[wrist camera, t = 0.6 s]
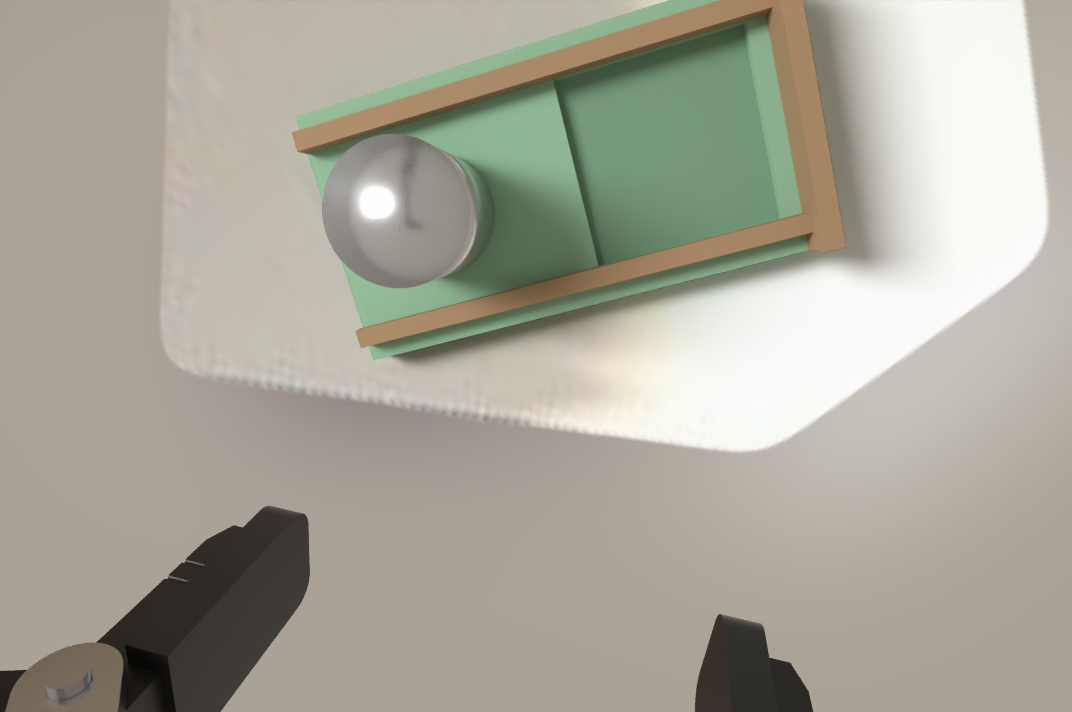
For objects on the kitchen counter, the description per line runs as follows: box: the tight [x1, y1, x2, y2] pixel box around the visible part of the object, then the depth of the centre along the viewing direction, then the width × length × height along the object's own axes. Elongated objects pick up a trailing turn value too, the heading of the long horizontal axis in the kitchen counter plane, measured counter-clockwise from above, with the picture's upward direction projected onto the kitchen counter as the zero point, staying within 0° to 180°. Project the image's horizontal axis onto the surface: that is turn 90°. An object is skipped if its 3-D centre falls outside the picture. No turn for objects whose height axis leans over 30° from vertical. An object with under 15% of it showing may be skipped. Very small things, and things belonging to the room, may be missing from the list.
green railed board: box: [292, 0, 846, 360], centre depth 34 cm, size 14×26×4 cm, turn 105°
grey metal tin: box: [322, 134, 495, 288], centre depth 31 cm, size 7×7×8 cm
